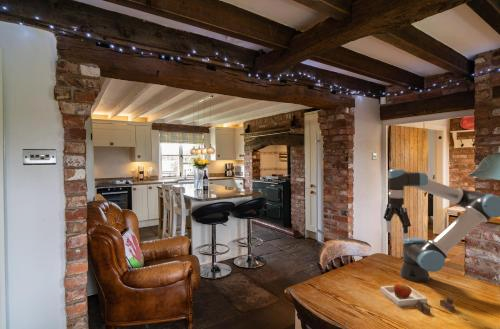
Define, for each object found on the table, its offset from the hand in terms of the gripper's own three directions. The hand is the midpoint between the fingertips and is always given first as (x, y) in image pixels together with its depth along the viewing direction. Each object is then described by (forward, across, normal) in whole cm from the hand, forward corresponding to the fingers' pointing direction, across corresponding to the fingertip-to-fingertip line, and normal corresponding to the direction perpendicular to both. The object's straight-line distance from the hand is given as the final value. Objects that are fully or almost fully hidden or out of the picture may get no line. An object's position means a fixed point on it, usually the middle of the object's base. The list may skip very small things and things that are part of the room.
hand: (396, 235), depth 155 cm
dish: (+29, +12, -5) cm, 32 cm away
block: (+29, +24, +3) cm, 38 cm away
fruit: (+28, +12, -5) cm, 31 cm away
